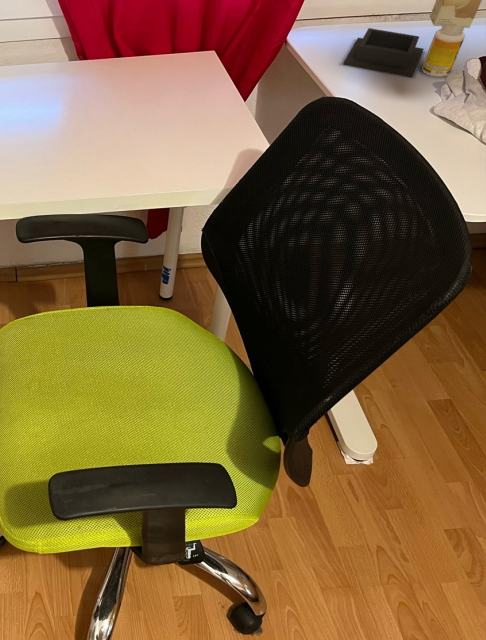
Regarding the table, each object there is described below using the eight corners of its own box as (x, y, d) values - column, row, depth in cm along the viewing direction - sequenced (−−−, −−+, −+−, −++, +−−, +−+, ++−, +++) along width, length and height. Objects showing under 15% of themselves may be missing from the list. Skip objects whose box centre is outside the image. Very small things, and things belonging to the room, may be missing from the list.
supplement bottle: (451, 79, 143) (472, 29, 136) (422, 77, 144) (442, 27, 137) (447, 67, 147) (467, 18, 139) (419, 65, 148) (438, 16, 141)
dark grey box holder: (422, 53, 152) (429, 34, 149) (411, 78, 144) (418, 59, 141) (356, 41, 157) (362, 23, 154) (342, 65, 149) (348, 47, 146)
